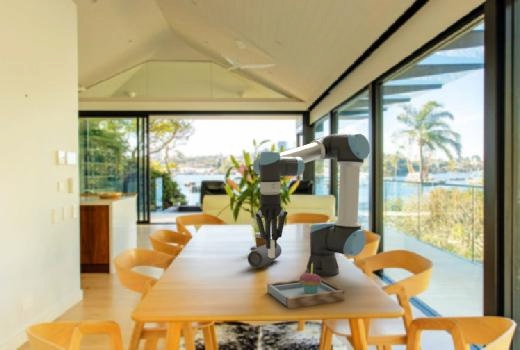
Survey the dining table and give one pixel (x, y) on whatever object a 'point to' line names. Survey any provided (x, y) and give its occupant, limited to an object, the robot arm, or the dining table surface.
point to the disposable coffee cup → (259, 240)
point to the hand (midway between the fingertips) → (271, 257)
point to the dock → (312, 295)
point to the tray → (293, 291)
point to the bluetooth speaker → (262, 256)
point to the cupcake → (310, 281)
